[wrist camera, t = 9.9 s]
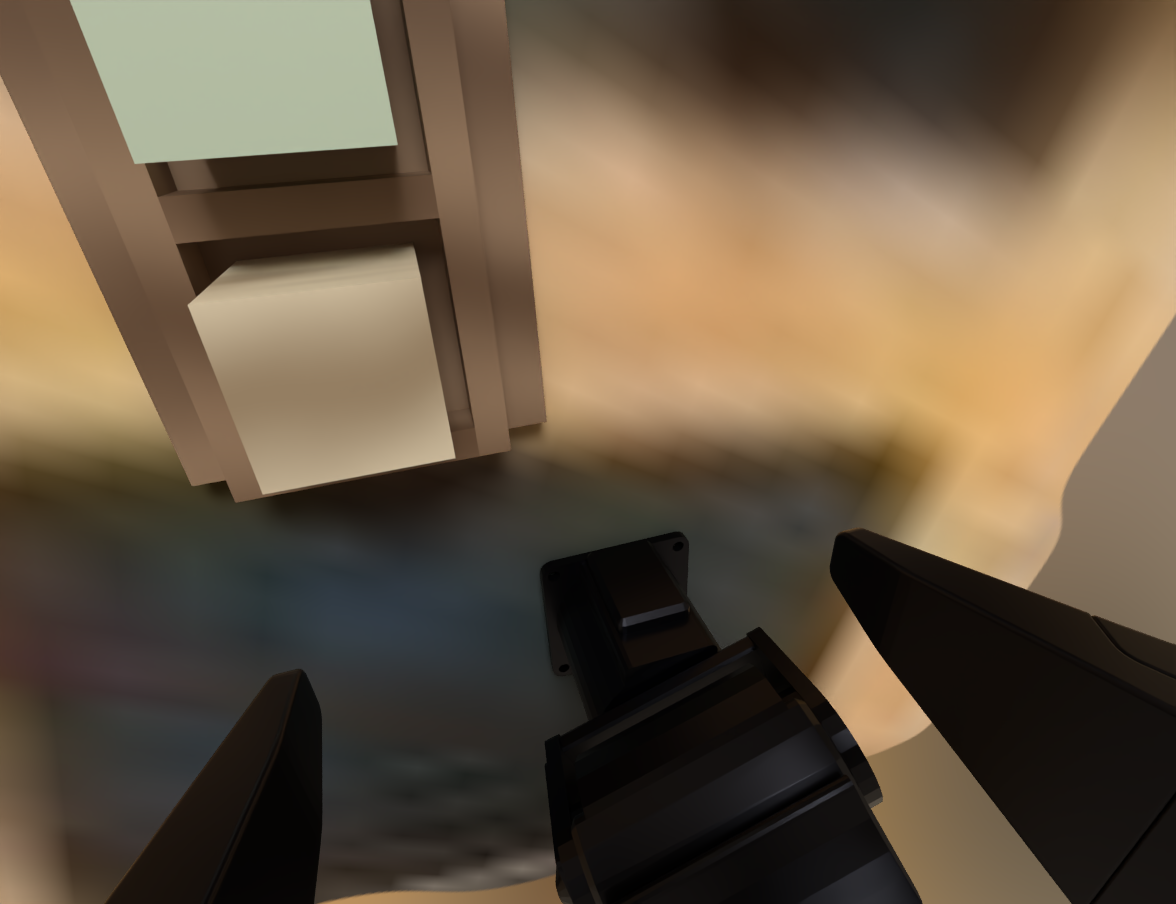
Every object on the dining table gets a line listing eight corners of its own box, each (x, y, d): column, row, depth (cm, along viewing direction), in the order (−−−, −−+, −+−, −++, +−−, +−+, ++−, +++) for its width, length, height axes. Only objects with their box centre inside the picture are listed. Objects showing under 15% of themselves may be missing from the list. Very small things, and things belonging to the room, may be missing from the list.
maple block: (441, 390, 19) (455, 457, 15) (289, 415, 18) (263, 494, 14) (413, 242, 16) (420, 277, 13) (236, 260, 15) (187, 305, 12)
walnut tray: (540, 410, 21) (557, 441, 19) (201, 470, 19) (177, 513, 16) (418, -750, 10) (427, -979, 8) (-448, -975, 8) (-764, -1391, 6)
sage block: (395, 140, 15) (397, 145, 11) (202, 153, 14) (134, 163, 10) (349, -93, 13) (334, -183, 9) (116, -96, 12) (-10, -199, 8)
